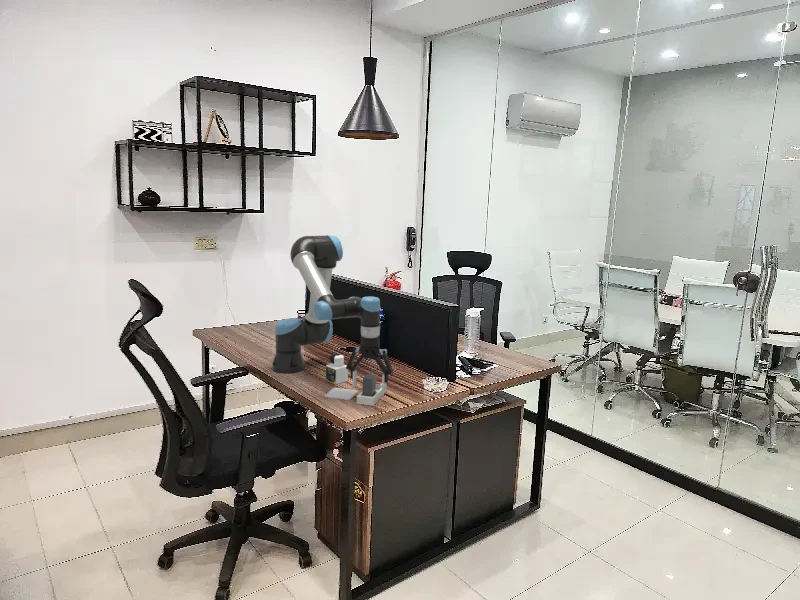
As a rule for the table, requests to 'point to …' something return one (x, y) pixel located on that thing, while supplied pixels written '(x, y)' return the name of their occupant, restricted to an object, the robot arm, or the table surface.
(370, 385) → the block
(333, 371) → the medicine bottle
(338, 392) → the mat
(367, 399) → the power strip
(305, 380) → the table surface
